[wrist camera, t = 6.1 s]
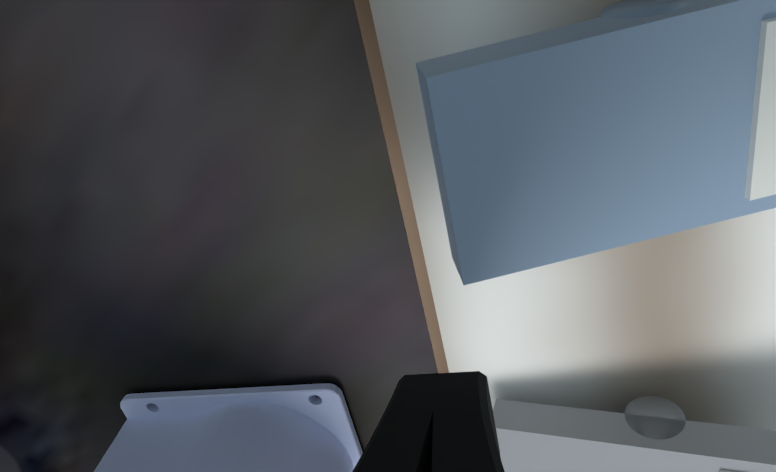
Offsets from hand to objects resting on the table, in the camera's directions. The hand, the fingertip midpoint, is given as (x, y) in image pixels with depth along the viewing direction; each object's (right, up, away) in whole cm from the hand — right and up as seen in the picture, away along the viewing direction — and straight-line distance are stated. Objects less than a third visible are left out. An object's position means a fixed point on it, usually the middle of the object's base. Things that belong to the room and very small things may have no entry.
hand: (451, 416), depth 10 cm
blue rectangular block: (+4, +6, +2) cm, 7 cm away
